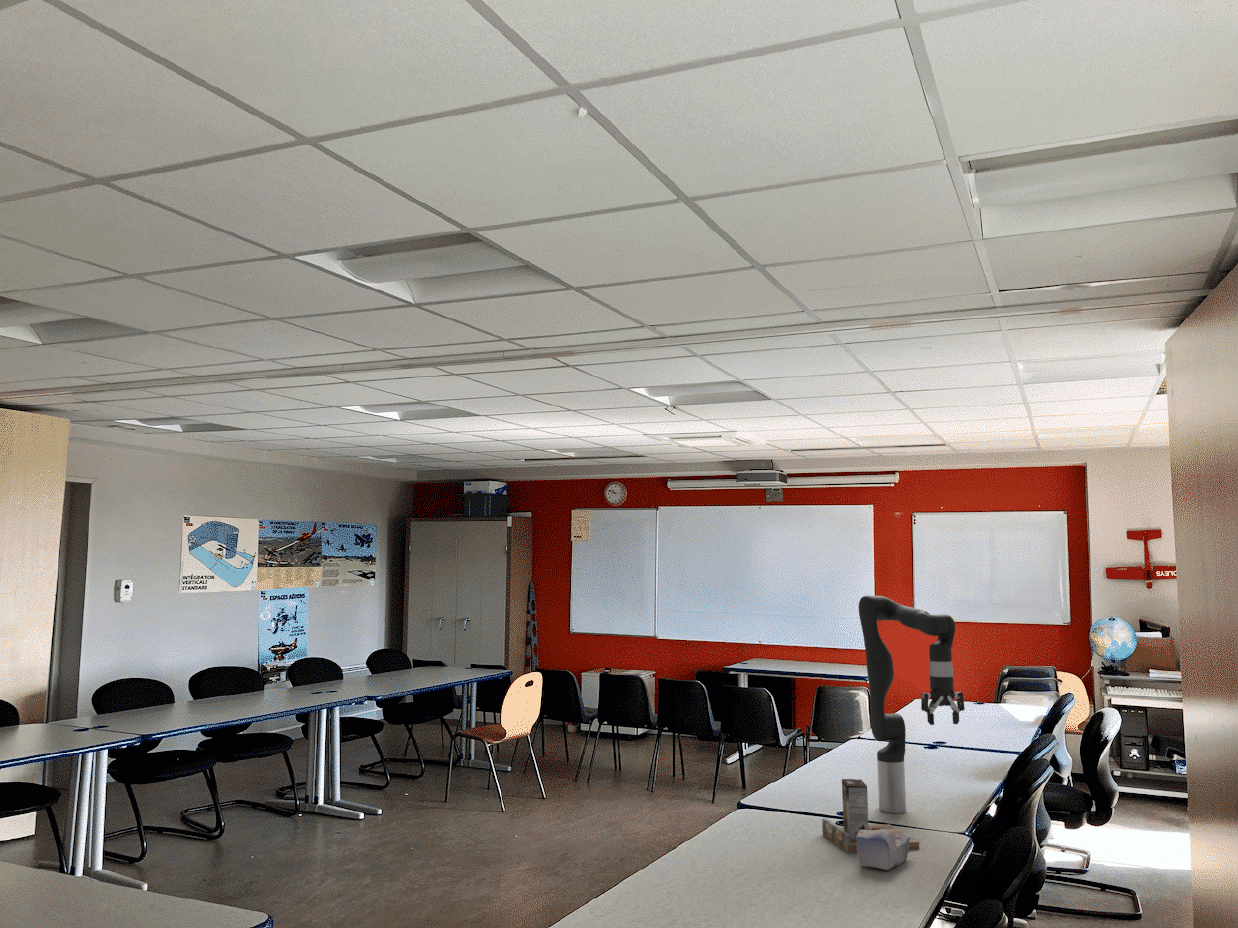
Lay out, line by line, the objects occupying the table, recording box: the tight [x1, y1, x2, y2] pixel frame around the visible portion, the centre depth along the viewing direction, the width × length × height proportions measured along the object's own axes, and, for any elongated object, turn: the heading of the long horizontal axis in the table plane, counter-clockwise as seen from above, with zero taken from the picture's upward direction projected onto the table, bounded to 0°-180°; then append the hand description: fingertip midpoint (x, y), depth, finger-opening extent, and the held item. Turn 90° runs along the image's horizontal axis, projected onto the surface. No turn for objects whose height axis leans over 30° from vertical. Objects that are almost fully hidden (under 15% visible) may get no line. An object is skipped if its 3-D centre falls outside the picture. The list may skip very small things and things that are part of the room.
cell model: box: [856, 828, 910, 871], centre depth 270 cm, size 13×11×20 cm
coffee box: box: [841, 778, 869, 839], centre depth 291 cm, size 9×6×16 cm
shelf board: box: [821, 817, 920, 854], centre depth 291 cm, size 20×23×5 cm
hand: (943, 724), depth 310 cm, fingers open, 8 cm apart
